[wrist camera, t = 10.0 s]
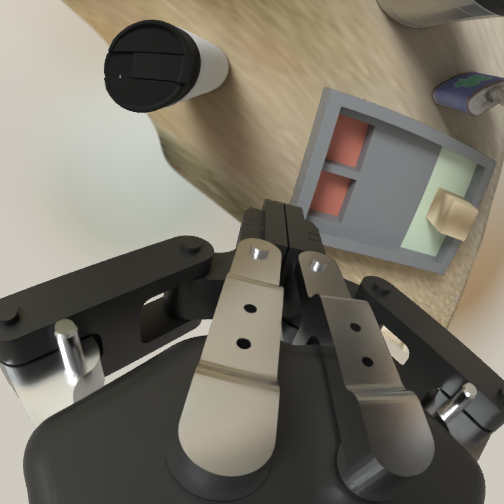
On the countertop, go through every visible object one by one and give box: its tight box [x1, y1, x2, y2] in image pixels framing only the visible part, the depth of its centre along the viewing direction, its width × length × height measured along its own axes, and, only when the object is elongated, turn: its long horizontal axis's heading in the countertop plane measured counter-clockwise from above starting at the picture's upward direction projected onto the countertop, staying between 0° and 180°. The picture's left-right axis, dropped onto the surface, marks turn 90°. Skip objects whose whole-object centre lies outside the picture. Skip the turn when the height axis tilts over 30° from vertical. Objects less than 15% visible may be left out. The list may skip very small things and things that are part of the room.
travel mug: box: [104, 20, 229, 113], centre depth 24 cm, size 6×7×20 cm
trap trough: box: [290, 87, 496, 275], centre depth 37 cm, size 18×24×4 cm
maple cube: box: [426, 187, 479, 241], centre depth 36 cm, size 4×4×4 cm
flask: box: [432, 72, 504, 116], centre depth 27 cm, size 9×3×11 cm, turn 121°
